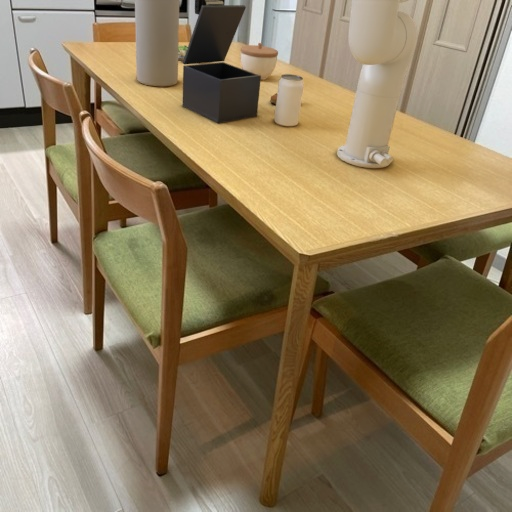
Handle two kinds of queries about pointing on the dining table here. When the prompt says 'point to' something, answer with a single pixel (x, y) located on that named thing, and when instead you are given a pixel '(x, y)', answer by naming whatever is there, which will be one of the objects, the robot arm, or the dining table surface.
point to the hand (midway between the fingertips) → (209, 13)
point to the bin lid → (213, 32)
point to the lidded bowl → (259, 59)
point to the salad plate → (182, 52)
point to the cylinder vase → (157, 41)
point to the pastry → (274, 98)
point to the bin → (220, 91)
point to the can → (289, 100)
